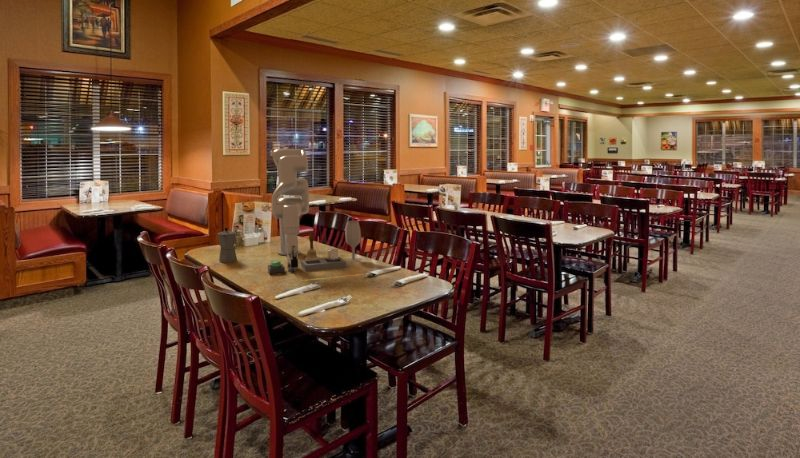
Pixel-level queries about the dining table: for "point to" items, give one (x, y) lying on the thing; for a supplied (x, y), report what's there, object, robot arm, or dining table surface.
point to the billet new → (290, 264)
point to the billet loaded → (332, 255)
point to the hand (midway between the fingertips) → (292, 265)
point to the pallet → (322, 264)
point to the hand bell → (311, 248)
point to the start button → (275, 264)
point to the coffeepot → (227, 246)
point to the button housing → (276, 270)
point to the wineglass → (353, 238)
